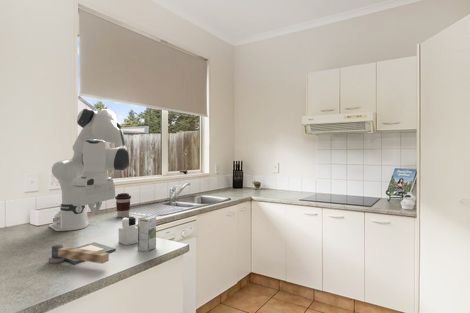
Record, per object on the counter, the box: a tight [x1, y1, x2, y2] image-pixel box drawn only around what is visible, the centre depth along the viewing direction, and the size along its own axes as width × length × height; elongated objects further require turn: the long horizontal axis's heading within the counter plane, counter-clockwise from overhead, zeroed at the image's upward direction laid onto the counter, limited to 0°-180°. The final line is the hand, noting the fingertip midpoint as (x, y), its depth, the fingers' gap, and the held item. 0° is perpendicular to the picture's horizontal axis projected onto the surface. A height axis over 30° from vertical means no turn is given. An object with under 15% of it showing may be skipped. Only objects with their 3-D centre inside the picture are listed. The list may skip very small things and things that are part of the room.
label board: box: [48, 241, 117, 265], centre depth 124 cm, size 16×23×2 cm
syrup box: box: [137, 215, 157, 252], centre depth 132 cm, size 6×6×14 cm
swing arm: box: [51, 243, 110, 265], centre depth 114 cm, size 26×4×4 cm, turn 71°
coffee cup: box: [114, 192, 132, 218], centre depth 197 cm, size 10×10×15 cm
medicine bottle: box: [118, 216, 138, 246], centre depth 141 cm, size 7×7×12 cm
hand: (95, 213), depth 118 cm, fingers closed
